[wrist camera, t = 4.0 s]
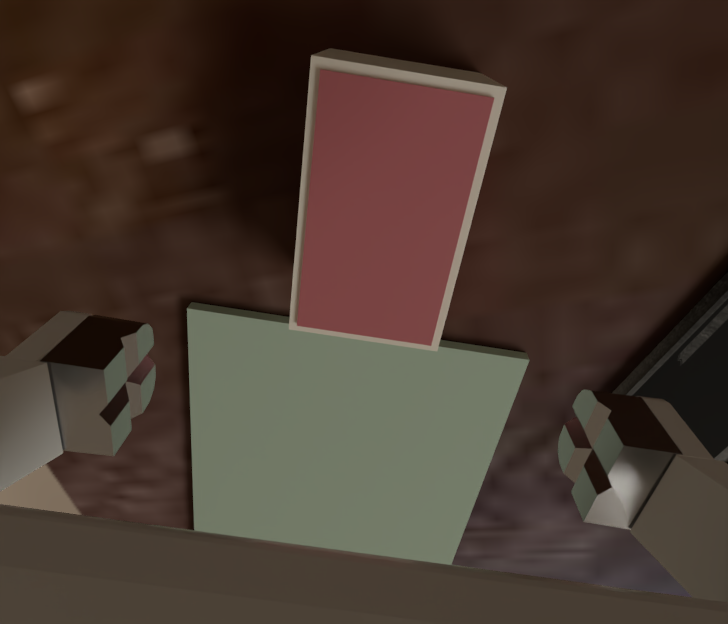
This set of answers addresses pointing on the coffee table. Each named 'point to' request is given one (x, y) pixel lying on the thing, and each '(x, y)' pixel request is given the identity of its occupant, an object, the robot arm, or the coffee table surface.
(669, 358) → the phone
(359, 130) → the card case
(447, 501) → the mat
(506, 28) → the coffee table surface
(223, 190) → the coffee table surface
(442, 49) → the coffee table surface
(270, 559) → the robot arm
